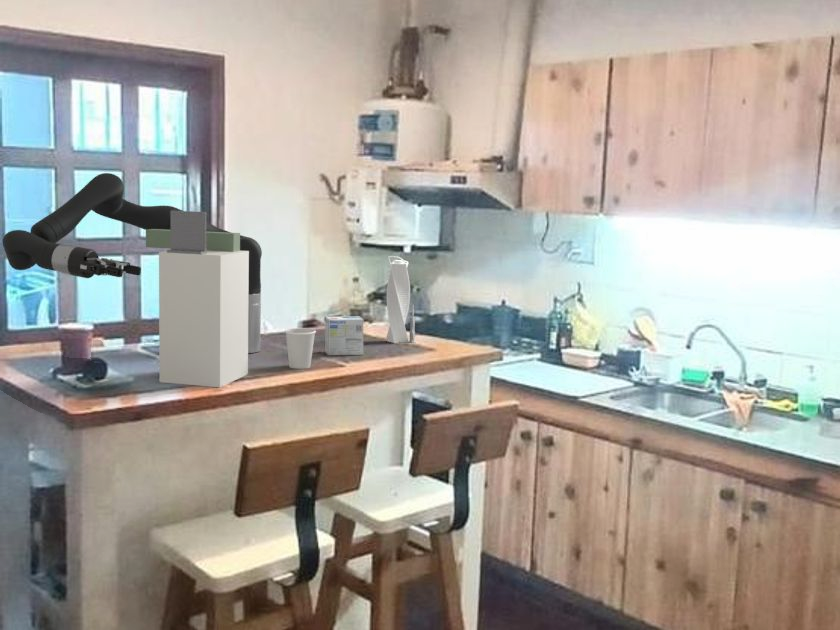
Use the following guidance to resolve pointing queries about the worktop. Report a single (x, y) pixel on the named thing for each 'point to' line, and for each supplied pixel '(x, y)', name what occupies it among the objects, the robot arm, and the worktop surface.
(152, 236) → the green bar
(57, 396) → the worktop surface
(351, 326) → the light bulb box
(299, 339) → the dixie cup
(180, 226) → the bookend
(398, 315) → the skyscraper
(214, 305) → the tall white pillar
